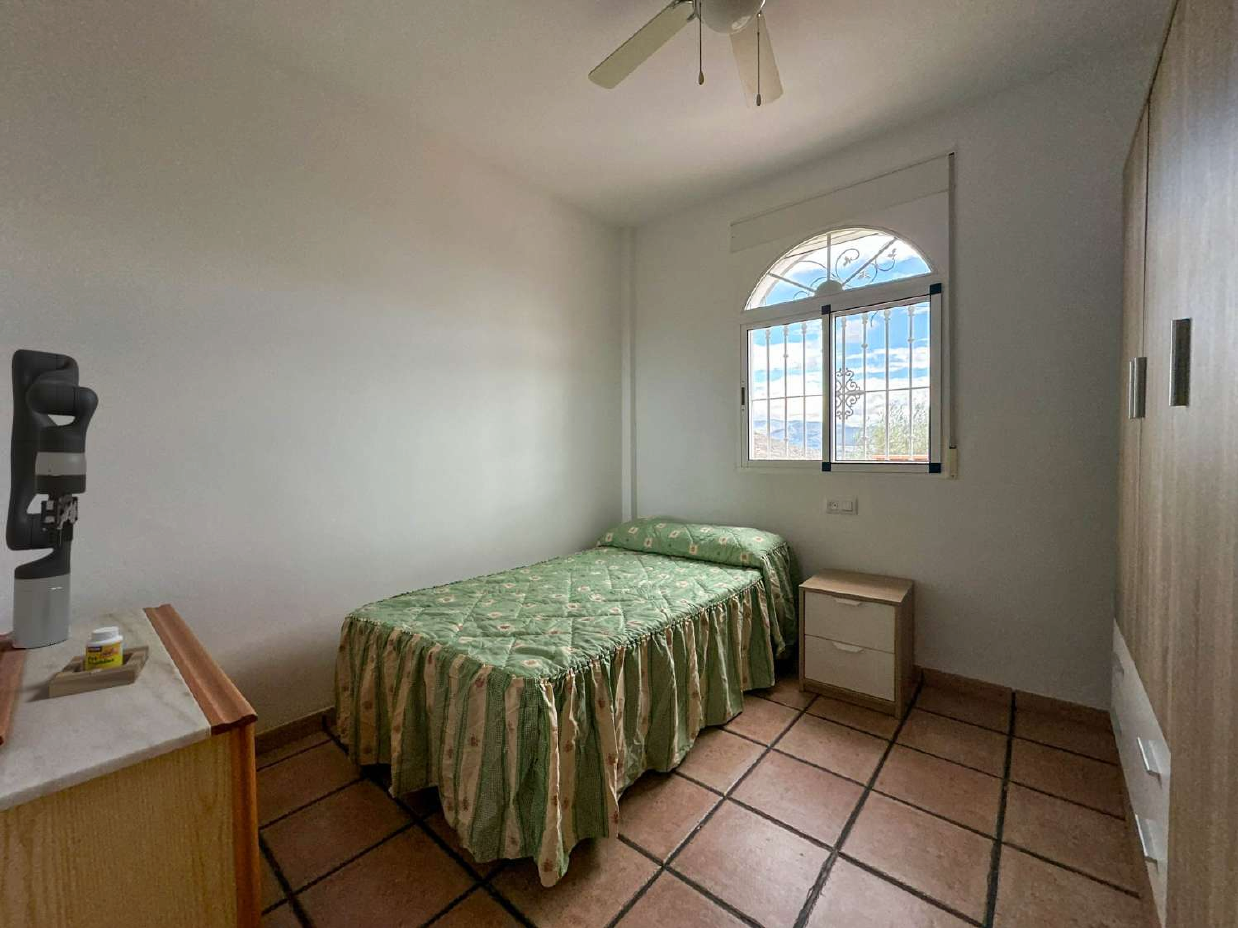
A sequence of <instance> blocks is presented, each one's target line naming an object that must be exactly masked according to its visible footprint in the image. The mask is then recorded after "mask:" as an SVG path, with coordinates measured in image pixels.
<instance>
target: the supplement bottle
mask: <svg viewBox="0 0 1238 928" xmlns="http://www.w3.org/2000/svg"><path fill="white" fill-rule="evenodd" d="M123 649H124V637H123V636H122V635H121V634H119V627H118V626H107V627H101V628H97V629H94V630H92V631H91V639H89V640H87V641H86V643H85V655H86V658H85V671H89V670H95V669H102V668H108V667H114V666H120V665H122V654H123Z"/></svg>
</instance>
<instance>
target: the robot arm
mask: <svg viewBox="0 0 1238 928" xmlns="http://www.w3.org/2000/svg"><path fill="white" fill-rule="evenodd" d="M79 371H80V369H79V365H78V362H77V360H76V359H75V358H73V357H71V356H69V355H66V354H63V353H55V352H47V351H40V350H33V349H26V348H25V349H24V348H20V349H16V350H15V351H14V353H13V354H12V359H11V384H12V401H13V402H12V404H13V405H12V407H13V409H12V410H13V412H12V425H11V436H10V437H11V439H10V454H9V455H10V456H9V457H10V458H9V459H10V492H9V501H8V510H7V519H6V525H5V542H6V543H5V544H6V546H7V549H8V550H10V551H13V552H17V551H18V552H20V551H22V552H23V551H31V550H32V551H33V550H34V551H35V550H46V549H49V550H50V549H52V551H51V552H50V553H49V554H46V555H45V556H43V557H41V558H39V559H36V560H33V561H29V562H26V563H23V564H20V565H17V566H16V567H15V568H14V572H13V599H12V600H13V607H12V608H13V610H12V633H11V634H12V635H11V636H12V637H11V638H12V640H11V644H12V643H14V644H19V645H23V646H24V647H26V649H34V648H40V647H46V646H50V644H51V645H55V644H58V643H61V642H64V641H66V640H68V639H69V631H70V630H69V629H70V627H69V626H70V605H71V604H70V603H71V602H70V601H71V600H70V599H71V554H72V553H71V552H72V544H73V540H74V525H75V524H77V523H76V522H78V521H79V513H78V511H79V510H78V508H79V506H78V505H79V497H78V495H80V494H84V493H85V492H86V491H87V457H86V440H87V432H88V429H89V425H90V422H91V420H92V418H93V416H94V414H95V412H96V410H97V408H98V405H99V396H98V395H97V393H96V392H95V391H94V390H93V389H91V388H89V387H85V386H80V385H79V381H80V372H79ZM50 416H62V417H73V420H72V421H71V422H70V423H67V424H60V425H58V423H56V422H55V421H54V420H53V418H51V417H50ZM37 495H48V497H47V500H41V502H40V512H39V513H37V512H35V513H34V512H33V513H29V512H28V509H29V507H30V505H31V503H32V502H33V500H34V499H35V497H37ZM73 495H77V496H73ZM67 638H68V639H67ZM65 639H66V640H65ZM63 640H64V641H63ZM54 643H55V644H54Z"/></svg>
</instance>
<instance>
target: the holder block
mask: <svg viewBox="0 0 1238 928" xmlns="http://www.w3.org/2000/svg"><path fill="white" fill-rule="evenodd" d="M149 657H150V645H149V644H148V645H143V646H136V647H130V648H129V647H128V648H123V654H122V665H120V666H114V667H108V668H102V669H95V670H89V671H85V658H86V654H83V655H82V654H81V655H76V656H74V657H73V658H71V660H70V661H69V662H68V663H67V664H66V665H65V667H63V668H62V669H61V671H60V672H58V673H57V674H56V675H55V677H53V678H52V680H51V681H50V682H49V686H48V687H49V688H48V689H49V690H48V691H49V692H48V699H53V698H59V697H64V696H70V695H76V694H80V693H87V692H92V691H97V690H104V689H109V688H113V687H119V686H120V687H121V686H125V685H130V684H135V682H136V681H137V680H138V677H140V674H141V672H142V670H143V668H144V667H145V665H146V663H147V661H148V660H149Z"/></svg>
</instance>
